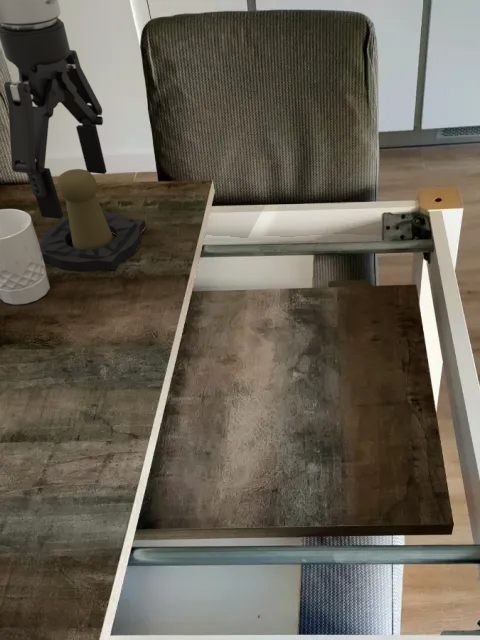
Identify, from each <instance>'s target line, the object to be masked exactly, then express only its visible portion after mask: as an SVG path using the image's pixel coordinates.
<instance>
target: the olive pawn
mask: <svg viewBox="0 0 480 640" xmlns="http://www.w3.org/2000/svg"><path fill="white" fill-rule="evenodd" d="M56 181H57V182H56V186H57V190H58V192H59V193H60V195H61V197H62V198H63V199H64V200H65V203H66V204H65V205H66V210H67V218H68V217H69V224H70V230H71V236H72V241H71V242H72V243H71V244H72V247H73V248H75V249H93V248H98V247H101V246H104V245H106V244H108V243H110V242H111V241H113V240H114V238H115V237H114V235H113V234H112V233H111V231H110V229H109V226H108V224H107V221H106V219H105V217H104V214H103V212H104V211H103V210H102V207H101V205H100V202H99V200H98V198H97V197H98V196H97V195H96V194H97V192H98V183H97V180H96V178H95V176H94V175H93V173H90V172H89V171H87V169H82V168H74V169H68V170H65V171H64V172H62V173H61V174H59V176H58V177H57V180H56Z"/></svg>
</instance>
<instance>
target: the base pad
mask: <svg viewBox="0 0 480 640" xmlns="http://www.w3.org/2000/svg"><path fill="white" fill-rule="evenodd" d="M102 212H103V214H104V217H105V219H106V221H107V224H108V226H109V229H110V231H111V232H113V233H115V234H116V235H115V237H113V238H114V240H113V241H111V242H110V243H108V244H106V245H104V246H101V247H98V248H93V249H75V248H73V246H70V243H71V242H72V241H71V240H72V236H71V230H70V224H69V217H68V216H67V217H66V218H65V219H64V220H62V221H60V222H58V223H56V224H54V225H52V226H51V227H50V228H49V229H48V230H47V231H46V232H45V233H44V234H43V236H42V238H41V239H42V240H41V243H40V244H41V245H40V249H41V253H42V256H43V261H44V264H51V265H53V266H55V267H57V268H60V269H62V270H67V271H68V270H69V271H77V272H86V271H94V270H95V271H96V270H103V271H104V270H105V271H115V270H116V269H117V268H118V266H119V265H120V264H121V263H122V262H124V261H125V260H127V259H129V258H130V257H132V256H133V255H132V254H133V253H134V252H135V251H136V249H137V248H138V246H139V245H140V244H141V245H142V235H141V232H142V230H143V229H144V227H145V226H146V227H147V225H146V220H145V219H140V218H138V219H137V218H131V217H129V216H126V215H124V214H121V213H115V212H106V211H102ZM70 241H71V242H70ZM69 242H70V243H69ZM68 244H69V245H68ZM141 245H140V246H141ZM138 249H139V248H138ZM138 249H137V250H138ZM136 252H137V251H136ZM136 252H135V253H136ZM135 253H134V254H135ZM131 255H132V256H131ZM129 256H130V257H129ZM128 257H129V258H128ZM126 258H127V259H126ZM124 259H125V260H124ZM123 260H124V261H123ZM121 261H122V262H121ZM120 262H121V263H120ZM119 263H120V264H119ZM118 264H119V265H118ZM116 267H117V268H116Z"/></svg>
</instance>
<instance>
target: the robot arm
mask: <svg viewBox="0 0 480 640" xmlns="http://www.w3.org/2000/svg"><path fill="white" fill-rule="evenodd" d="M61 14H62V13H61V9H60V5H59V0H0V43H1V47H2V50H3V54H4V56H5V58H6V59H7V61H8V62H10V63H12V64H13V65H14V66H15V67H16V68H17V71H18V81H15V82H14V81H5V82H4V85H3V87H4V88H3V89H4V92H5V96H6V100H7V105H8V121H9V123H8V124H9V139H10V159H11V168H12V169H11V170H12V171H13V172H14V173H22V174H26V175H27V178H28V180H29V184H30V187H31V190H32V193H33V195H34V196H35V199H36V202H37V205H38V209H39V212H40V215H41V217H42V218H50V219H58V220H60V219H62V218H63V217H64V214H63V210H62V206H61V203H60V200H59V196H58V193H57V189H56V186H55V183H54V179H53V176H52V172H51V168H50V167H46V157H47V156H46V155H47V144H48V135H49V125H50V124H49V122H50V118H52V117H53V116H54V109H55V108H56V107H57V106H58V105H59V103H60V104H62V106H63V107H64V108H65V109H66V110H67V111H68V112H69V114H70V115H71V116H72V117H73V118H74V119H75V120H76V121H77V122H78V125H77V126H76V127H75V128H76V132H77V133H76V134H77V138H78V140H79V145H80V148H81V152H82V156H83V161H84V164H85V168H86V169H85V170H87V171H89V172H90V173H91V174H101V175H105V174H106V173H107V172H108V171H107V167H106V163H105V159H104V154H103V150H102V146H101V141H100V137H99V136H100V135H99V132H98V128H97V126H102V125H103V124H104V118H103V117H102V115H103V107H102V105H101V103H100V102H99V100H98V97H97V95H96V94H95V92H94V90H93V88H92V86H91V84H90V82H89V80H88V78H87V76H86V74H85V72H84V71H83V69H82V66H81V63H80V59H79V56H78V54H77V53H78V52H77V51H76V50H74V49H71V48H70V43H69V40H68V35H67V32H66V28H65V23H64V21H62V20H61V19H60V18H59V16H60V15H61ZM33 104H34V105H35V106H34V105H33ZM80 124H81V125H80Z"/></svg>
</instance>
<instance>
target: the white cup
mask: <svg viewBox="0 0 480 640" xmlns="http://www.w3.org/2000/svg"><path fill="white" fill-rule="evenodd" d="M40 246H41V245H40V243H39V239H38V235H37V233H36V230H35V226H34V223H33V220H32V217H31V215H30V214H29V213H28V212H26V211H24V210H21V209H18V208H17V209H15V208H3V209H2V208H1V209H0V300H1V301H2V302H3V303H6V304H9V305H14V306H15V305H16V306H17V305H26V304H30V303H33V302H37V301H38V300H40V299H42V298H43V297H44V296H46V295H47V293H48V292H49V291H50V289H51V286H50V279H49V277H48V274H47V273H48V272H47V270H46V269H47V268H46V267H47V266H46V263H44V261H43V256H42V253H41V249H40Z"/></svg>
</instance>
